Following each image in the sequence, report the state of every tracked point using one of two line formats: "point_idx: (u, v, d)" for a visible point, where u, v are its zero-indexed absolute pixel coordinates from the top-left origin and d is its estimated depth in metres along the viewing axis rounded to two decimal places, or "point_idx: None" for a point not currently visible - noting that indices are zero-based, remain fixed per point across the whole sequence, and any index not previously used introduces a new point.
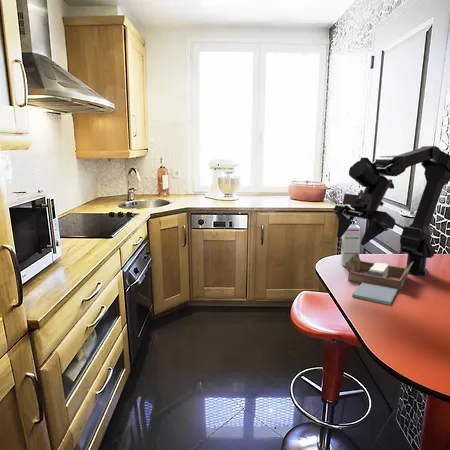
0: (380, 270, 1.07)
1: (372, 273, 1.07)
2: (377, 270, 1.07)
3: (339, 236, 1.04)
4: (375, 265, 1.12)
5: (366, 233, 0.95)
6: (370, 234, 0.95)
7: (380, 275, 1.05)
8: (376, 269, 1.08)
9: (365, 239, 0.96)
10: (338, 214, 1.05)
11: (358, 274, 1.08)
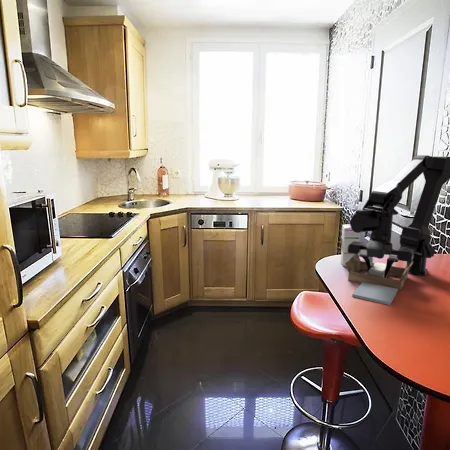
0: (380, 270, 1.07)
1: (372, 273, 1.07)
2: (377, 270, 1.07)
3: None
4: (375, 265, 1.12)
5: (387, 269, 1.07)
6: (389, 268, 1.07)
7: (380, 275, 1.05)
8: (376, 269, 1.08)
9: (387, 273, 1.08)
10: (364, 257, 1.09)
11: (358, 274, 1.08)
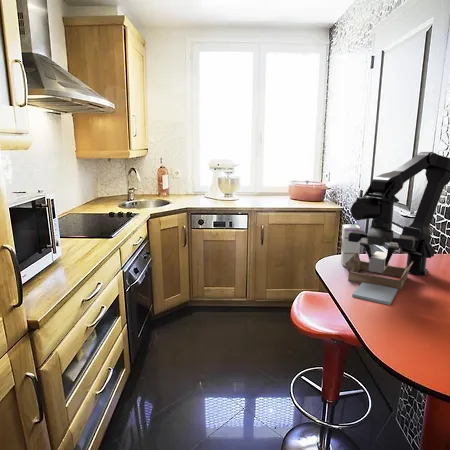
0: (381, 258, 1.06)
1: (373, 261, 1.06)
2: (378, 258, 1.06)
3: None
4: (376, 254, 1.11)
5: (388, 257, 1.06)
6: (390, 256, 1.07)
7: (381, 263, 1.05)
8: (377, 257, 1.07)
9: (388, 261, 1.07)
10: (365, 245, 1.08)
11: (358, 274, 1.08)
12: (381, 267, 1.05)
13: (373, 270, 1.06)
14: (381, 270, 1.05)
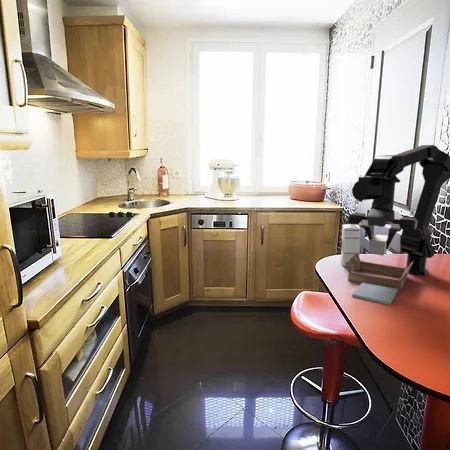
0: (382, 240, 1.03)
1: (373, 243, 1.03)
2: (378, 240, 1.03)
3: None
4: (377, 236, 1.08)
5: (389, 239, 1.03)
6: (391, 238, 1.03)
7: (382, 245, 1.02)
8: (377, 239, 1.04)
9: (389, 244, 1.04)
10: (365, 227, 1.05)
11: (358, 274, 1.08)
12: (382, 249, 1.02)
13: (373, 252, 1.03)
14: (382, 252, 1.02)
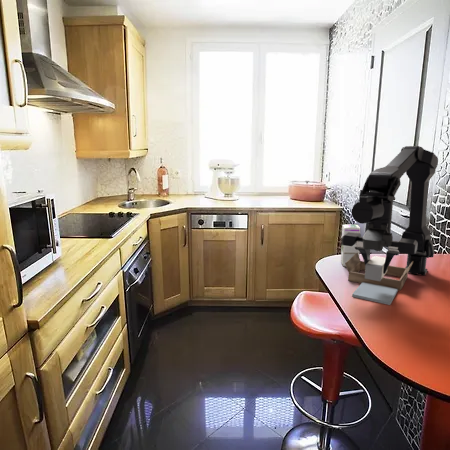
0: (379, 264, 0.94)
1: (369, 268, 0.93)
2: (375, 264, 0.94)
3: None
4: (373, 259, 0.99)
5: (386, 263, 0.94)
6: (389, 262, 0.94)
7: (379, 270, 0.92)
8: (374, 263, 0.95)
9: (387, 268, 0.95)
10: (360, 250, 0.96)
11: (358, 274, 1.08)
12: (379, 274, 0.92)
13: (370, 278, 0.94)
14: (379, 278, 0.93)
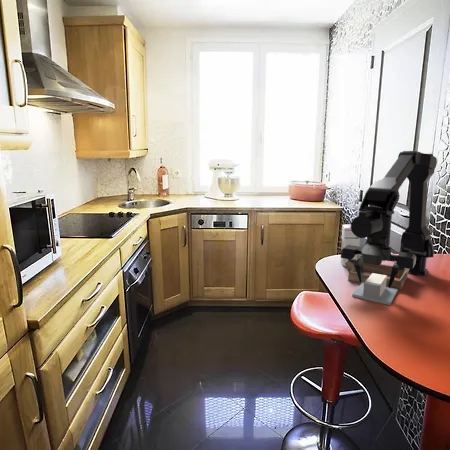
0: (377, 283, 0.95)
1: (368, 286, 0.95)
2: (373, 282, 0.95)
3: (361, 280, 1.00)
4: (372, 276, 1.00)
5: (392, 278, 0.94)
6: (395, 276, 0.94)
7: (377, 288, 0.93)
8: (372, 281, 0.96)
9: (392, 282, 0.94)
10: (353, 262, 0.97)
11: None
12: (377, 293, 0.93)
13: (368, 296, 0.95)
14: (377, 296, 0.94)
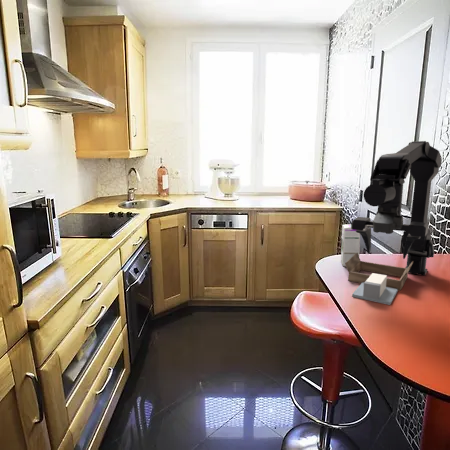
0: (377, 283, 0.95)
1: (368, 286, 0.95)
2: (373, 282, 0.95)
3: (369, 251, 0.99)
4: (372, 276, 1.00)
5: (406, 248, 0.92)
6: (409, 246, 0.93)
7: (377, 288, 0.93)
8: (372, 281, 0.96)
9: (406, 253, 0.93)
10: (361, 233, 0.97)
11: (358, 274, 1.08)
12: (377, 293, 0.93)
13: (368, 296, 0.95)
14: (377, 296, 0.94)
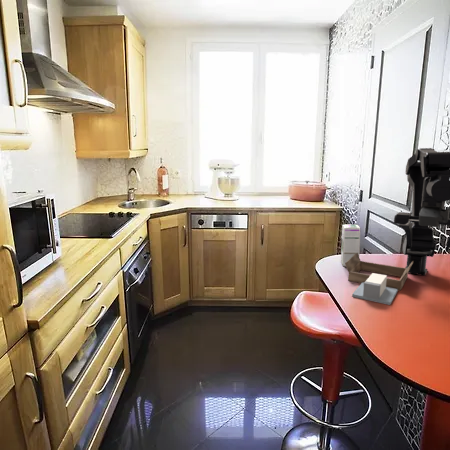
0: (377, 283, 0.95)
1: (368, 286, 0.95)
2: (373, 282, 0.95)
3: (411, 245, 1.03)
4: (372, 276, 1.00)
5: None
6: None
7: (377, 288, 0.93)
8: (372, 281, 0.96)
9: None
10: (404, 227, 1.01)
11: (358, 274, 1.08)
12: (377, 293, 0.93)
13: (368, 296, 0.95)
14: (377, 296, 0.94)
